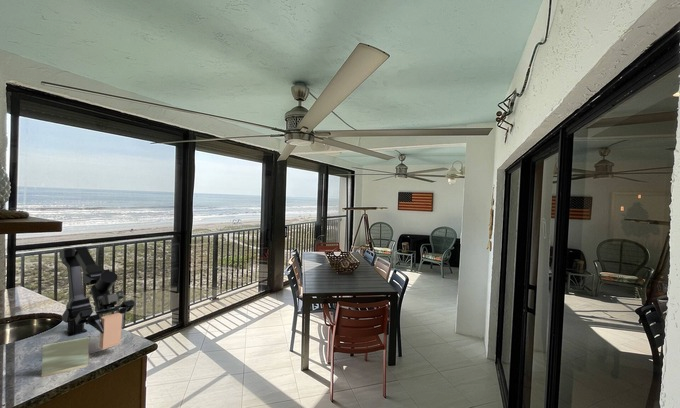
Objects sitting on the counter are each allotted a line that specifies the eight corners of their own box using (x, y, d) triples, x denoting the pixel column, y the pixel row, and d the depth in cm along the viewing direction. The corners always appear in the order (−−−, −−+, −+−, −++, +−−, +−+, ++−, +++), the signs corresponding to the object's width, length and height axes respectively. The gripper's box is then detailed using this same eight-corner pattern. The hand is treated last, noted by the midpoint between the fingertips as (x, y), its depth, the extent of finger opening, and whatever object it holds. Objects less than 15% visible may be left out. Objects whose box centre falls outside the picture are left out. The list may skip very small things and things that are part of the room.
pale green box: (46, 364, 109) (48, 334, 109) (88, 355, 116) (90, 327, 116) (41, 377, 101) (43, 345, 101) (87, 366, 108) (88, 337, 108)
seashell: (110, 332, 129) (108, 337, 121) (109, 346, 128) (107, 351, 120) (79, 337, 123) (76, 342, 115) (78, 351, 122) (74, 357, 114)
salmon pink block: (99, 347, 115) (101, 317, 115) (117, 341, 120) (118, 312, 120) (102, 349, 114) (104, 319, 114) (120, 343, 119) (122, 314, 119)
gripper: (79, 291, 111) (90, 327, 105) (134, 281, 127) (146, 312, 121) (70, 306, 115) (80, 342, 109) (124, 294, 131) (135, 326, 125)
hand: (112, 330), depth 116 cm, fingers closed on salmon pink block, 6 cm apart
